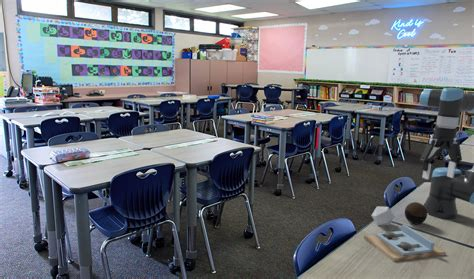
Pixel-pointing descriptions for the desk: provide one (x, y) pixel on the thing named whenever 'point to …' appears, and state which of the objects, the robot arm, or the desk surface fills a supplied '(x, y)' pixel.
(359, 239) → the desk surface
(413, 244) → the panel
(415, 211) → the toy
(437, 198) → the robot arm
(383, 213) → the die
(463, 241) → the desk surface
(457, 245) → the desk surface
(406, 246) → the board
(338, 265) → the desk surface
